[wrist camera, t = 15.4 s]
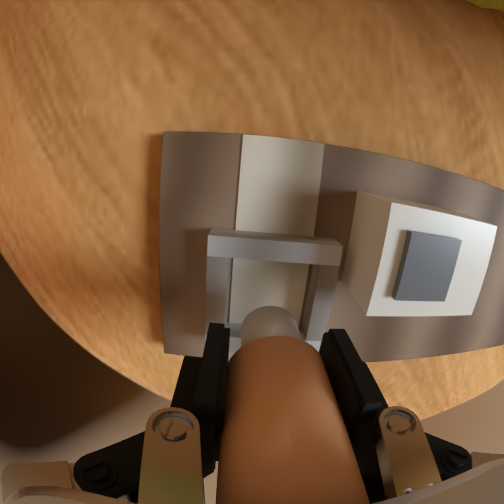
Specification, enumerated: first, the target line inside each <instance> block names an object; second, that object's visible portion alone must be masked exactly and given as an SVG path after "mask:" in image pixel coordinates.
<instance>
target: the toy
mask: <svg viewBox="0 0 504 504" xmlns="http://www.w3.org/2000/svg"><path fill="white" fill-rule="evenodd" d="M466 1H468V2H470V3H472V4H474V5H476V6H478V7H480V8H489V9H498V10H504V0H466Z"/></svg>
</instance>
